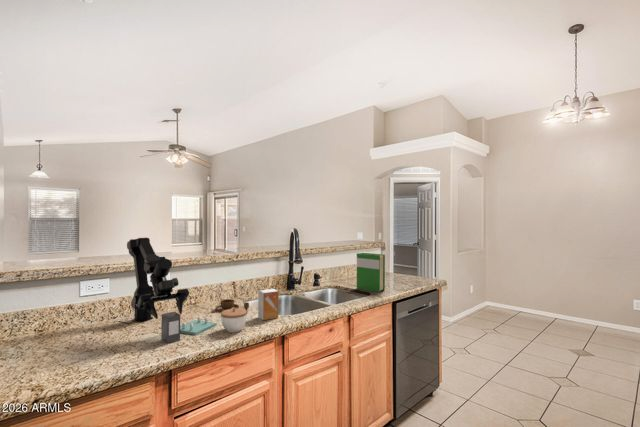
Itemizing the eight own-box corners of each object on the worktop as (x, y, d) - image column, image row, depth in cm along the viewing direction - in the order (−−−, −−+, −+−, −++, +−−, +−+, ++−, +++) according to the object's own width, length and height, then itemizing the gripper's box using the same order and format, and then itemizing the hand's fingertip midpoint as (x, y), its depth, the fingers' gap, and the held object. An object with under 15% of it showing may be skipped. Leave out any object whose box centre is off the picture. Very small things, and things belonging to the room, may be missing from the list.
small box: (263, 320, 152) (263, 292, 152) (257, 317, 157) (258, 290, 157) (278, 317, 156) (279, 290, 156) (273, 314, 161) (273, 288, 162)
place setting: (241, 305, 180) (242, 294, 180) (250, 315, 162) (251, 303, 162) (208, 309, 172) (209, 298, 172) (214, 319, 154) (214, 307, 154)
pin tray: (173, 331, 137) (173, 323, 137) (194, 322, 149) (194, 314, 149) (195, 335, 133) (196, 326, 133) (216, 325, 145) (216, 317, 145)
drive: (161, 339, 128) (161, 314, 128) (174, 336, 131) (174, 311, 131) (166, 343, 124) (167, 317, 124) (180, 340, 127) (180, 314, 127)
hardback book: (384, 290, 217) (384, 254, 217) (379, 292, 211) (379, 255, 211) (362, 286, 228) (362, 252, 228) (356, 288, 222) (356, 253, 223)
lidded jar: (251, 329, 140) (251, 307, 140) (229, 336, 132) (230, 313, 132) (237, 324, 147) (237, 303, 147) (216, 330, 139) (216, 308, 139)
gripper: (140, 274, 126) (148, 308, 118) (187, 269, 139) (198, 299, 131) (133, 291, 132) (142, 325, 124) (180, 285, 145) (190, 315, 137)
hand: (169, 315), depth 129 cm, fingers open, 9 cm apart
